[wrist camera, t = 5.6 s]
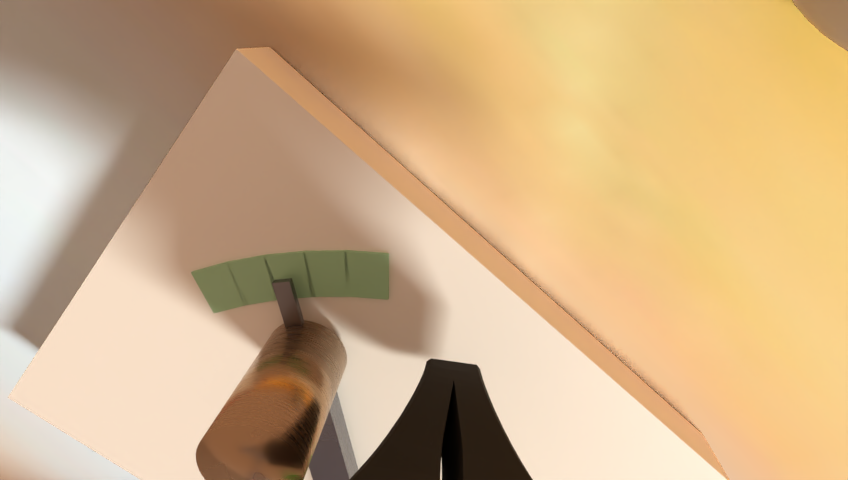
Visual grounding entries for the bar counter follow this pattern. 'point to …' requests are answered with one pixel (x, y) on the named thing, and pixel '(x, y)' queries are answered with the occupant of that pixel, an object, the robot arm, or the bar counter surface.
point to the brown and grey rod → (284, 408)
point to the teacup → (827, 18)
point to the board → (326, 302)
